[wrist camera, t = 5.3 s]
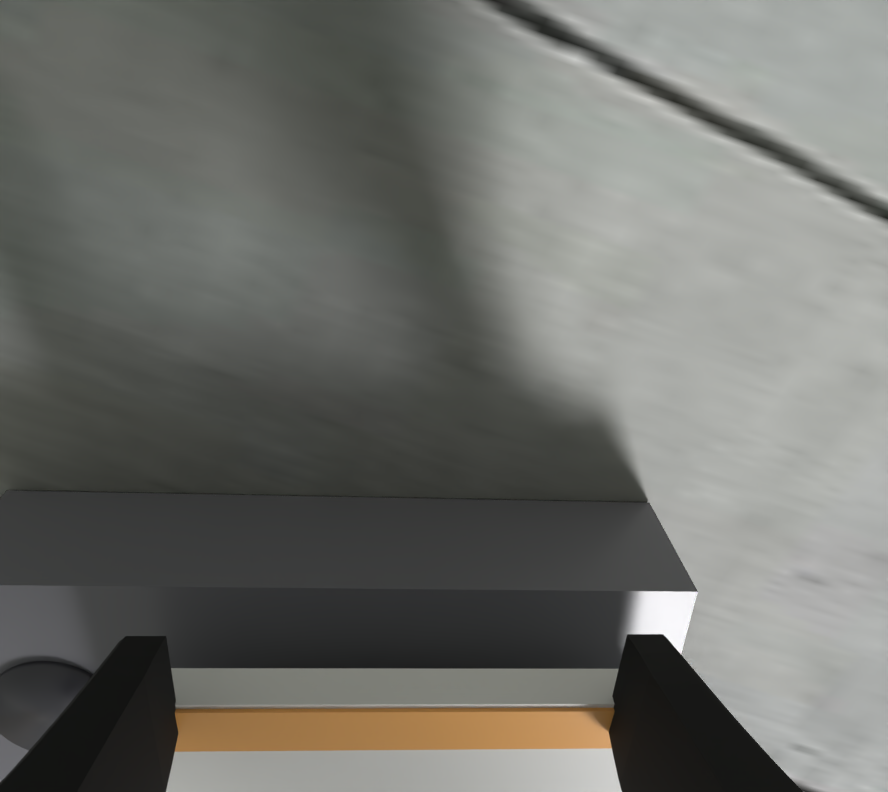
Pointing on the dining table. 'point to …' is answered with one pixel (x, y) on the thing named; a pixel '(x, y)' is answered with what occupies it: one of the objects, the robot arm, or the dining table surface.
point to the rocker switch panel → (319, 587)
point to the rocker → (393, 730)
